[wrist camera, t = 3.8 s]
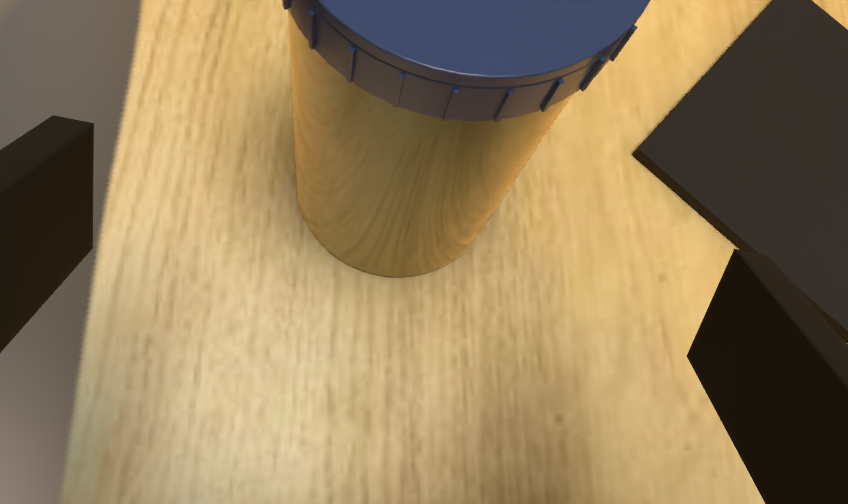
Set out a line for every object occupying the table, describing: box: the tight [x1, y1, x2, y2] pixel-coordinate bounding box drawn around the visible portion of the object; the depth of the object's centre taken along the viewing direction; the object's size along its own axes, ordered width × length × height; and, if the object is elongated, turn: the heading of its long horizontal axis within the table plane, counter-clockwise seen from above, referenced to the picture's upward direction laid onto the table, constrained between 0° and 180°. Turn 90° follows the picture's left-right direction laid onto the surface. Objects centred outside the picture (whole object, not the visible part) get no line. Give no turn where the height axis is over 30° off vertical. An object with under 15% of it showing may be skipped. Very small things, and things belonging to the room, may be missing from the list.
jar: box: [288, 10, 573, 277], centre depth 22 cm, size 8×8×14 cm
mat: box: [633, 0, 848, 342], centre depth 32 cm, size 14×12×1 cm
